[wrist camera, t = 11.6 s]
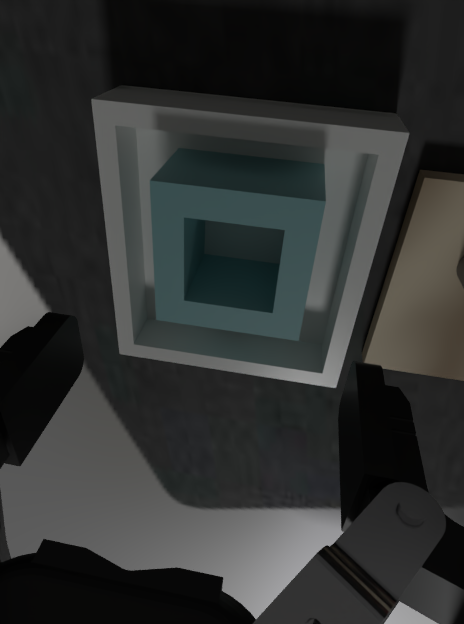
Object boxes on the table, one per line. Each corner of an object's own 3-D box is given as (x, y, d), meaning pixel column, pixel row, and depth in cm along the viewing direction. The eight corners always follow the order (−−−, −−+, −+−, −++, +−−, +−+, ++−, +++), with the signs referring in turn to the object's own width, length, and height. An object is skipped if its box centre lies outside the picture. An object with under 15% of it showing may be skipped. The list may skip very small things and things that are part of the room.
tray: (396, 113, 17) (409, 133, 15) (334, 348, 24) (335, 388, 22) (121, 85, 18) (91, 98, 16) (138, 319, 25) (119, 353, 23)
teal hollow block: (324, 164, 18) (325, 201, 15) (295, 321, 23) (291, 376, 19) (178, 148, 18) (149, 180, 15) (180, 305, 23) (158, 355, 20)
